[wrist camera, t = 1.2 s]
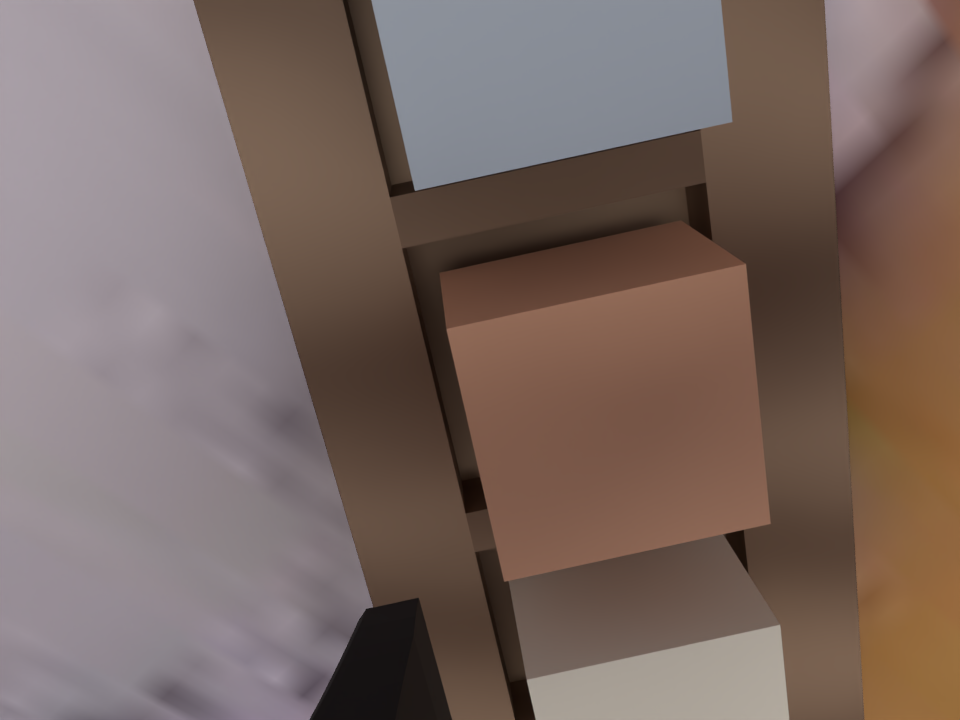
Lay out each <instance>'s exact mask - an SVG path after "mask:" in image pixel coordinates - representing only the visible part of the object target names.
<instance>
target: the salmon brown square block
mask: <svg viewBox="0 0 960 720" xmlns="http://www.w3.org/2000/svg"><path fill="white" fill-rule="evenodd" d="M439 274H440V282H441V290H442V298H443V306H444V314H445V322H446V329H447V334H448V338H449V342H450V347H451V351H452V356H453V360H454V364H455V369H456V373H457V377H458V382H459V386H460V391H461V395H462V399H463V404H464V408H465V412H466V417H467V421H468V426H469V430H470V434H471V439H472V443H473V447H474V452H475V456H476V460H477V465H478V469H479V474H480V478H481V482H482V487H483V491H484V495H485V500H486V504H487V509H488V513H489V517H490V522H491V526H492V530H493V535H494V539H495V544H496V548H497V552H498V557H499V561H500V565H501V570H502V574H503V579H504V582H506V581H510V580H515V579H519V578H524V577H529V576H533V575H538V574H542V573H547V572H552V571H556V570H561V569H565V568H570V567H575V566H579V565H584V564H588V563H593V562H598V561H602V560H607V559H611V558H616V557H621V556H625V555H630V554H634V553H639V552H644V551H648V550H653V549H657V548H662V547H667V546H671V545H676V544H680V543H685V542H690V541H694V540H699V539H703V538H708V537H713V536H717V535H722V534H726V533H731V532H736V531H740V530H745V529H749V528H754V527H759V526H763V525H768V524H771V522H770V511H769V501H768V490H767V480H766V469H765V459H764V448H763V438H762V427H761V417H760V406H759V396H758V385H757V374H756V364H755V353H754V343H753V332H752V322H751V311H750V301H749V290H748V280H747V269H746V264H745V263H744V262H742V261H741V260H739V259H738V258H736V257H735V256H733V255H732V254H730V253H729V252H727V251H726V250H724V249H723V248H721V247H720V246H718V245H717V244H715V243H714V242H712V241H711V240H710V239H708V238H707V237H705V236H704V235H702V234H701V233H699V232H698V231H696V230H695V229H693V228H692V227H690V226H689V225H687V224H686V223H684V222H683V221H681V220H680V221H676V222H671V223H666V224H662V225H657V226H652V227H648V228H643V229H639V230H634V231H629V232H625V233H620V234H616V235H611V236H606V237H602V238H597V239H593V240H588V241H583V242H579V243H574V244H570V245H565V246H560V247H556V248H551V249H547V250H542V251H537V252H533V253H528V254H524V255H519V256H514V257H510V258H505V259H500V260H496V261H491V262H487V263H482V264H477V265H473V266H468V267H464V268H459V269H454V270H450V271H445V272H441V273H439Z"/></svg>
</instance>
